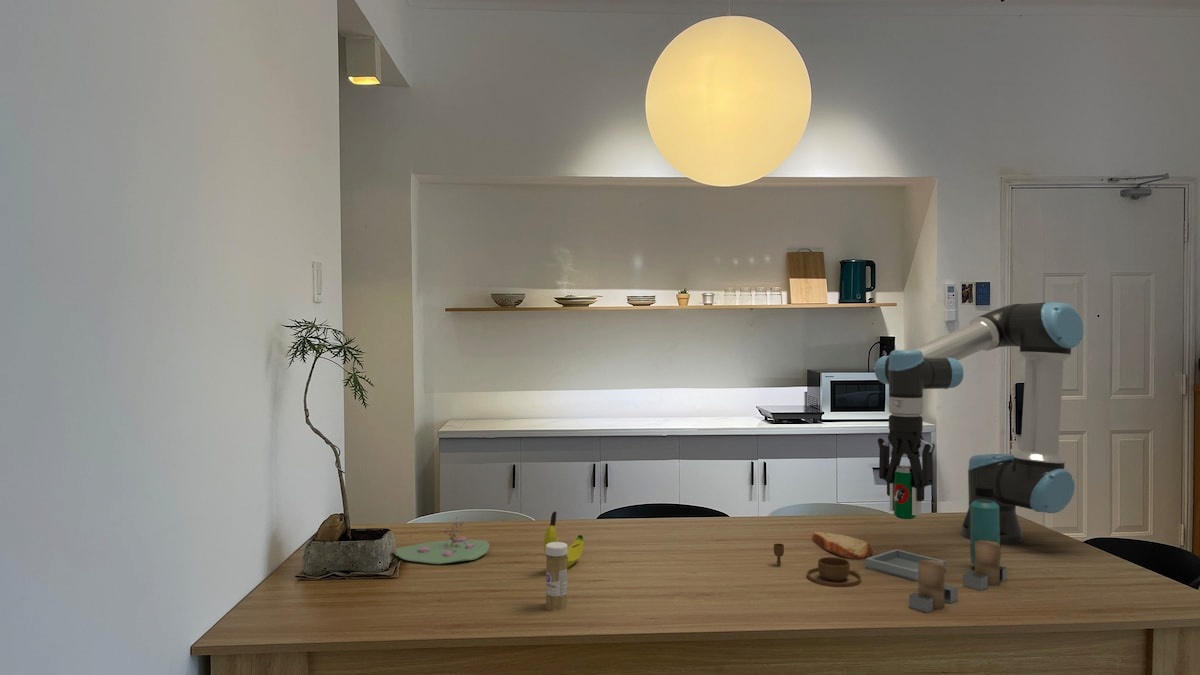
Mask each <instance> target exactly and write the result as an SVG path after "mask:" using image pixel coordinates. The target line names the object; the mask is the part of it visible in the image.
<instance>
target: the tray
mask: <svg viewBox="0 0 1200 675" xmlns="http://www.w3.org/2000/svg"><path fill="white" fill-rule="evenodd" d="M920 560H935V561H939V562H942V563H944V573H945V572H946V571H947V561H946V560H944V559H943V560H942V559H938V558H934V557H931V556H926V555H922V554H917V553H915V552H914V553H913V552H909V551H906V550H902V549H897V548H894V549H891V550H889V551H885V552H882V553H878V554H876V555H873V556H872V555H871V556H870V557H869V558H866V559H865V569H867V570H871V571H875V572H879V573H882V574H885V575H889V576H891V577H892V576H893V577H896V578H900V579H904V580H907V581H911V582H914V581H915V582H914V583H918V561H920Z"/></svg>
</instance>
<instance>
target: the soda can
mask: <svg viewBox="0 0 1200 675" xmlns="http://www.w3.org/2000/svg"><path fill="white" fill-rule="evenodd" d="M914 486H915V482H914V478H913V474H912V469H911V465H899V466H896V469H895V470H894V511H893V515H894V517H895V518H898V519H901V520H913V519H915V518H916V517H917V516H918V515H912V487H914Z"/></svg>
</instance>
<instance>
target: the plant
mask: <svg viewBox="0 0 1200 675" xmlns="http://www.w3.org/2000/svg"><path fill="white" fill-rule="evenodd" d="M457 519H458V517H457V516H456V517H455V523H452V525H453V526H451V528H450V527H447V528H446V529H447V530H446V531H444V533H445V534H446V535H447V536H448V537H449V539H448V540H437V541H431V542H430V541H429V542H423V543H417V544H412V545H407V546H402V547H396V552H397V556H399V557H398V558H400V559H402V560H405V561H409V562H416V563H422V564H423V563H424V564H433V565H442V564H450V563H457V562H467V561H474V560H477V559H479V558H481V557H482V556H484V555H485V554H486V553H487V552H488V550H490V544H489V542H488V541H487V540H483V539H467V537H465V536H461V537H458V535H459V534H460V532H461V530H463V527H461V526H463V524H462V523H464V521H461V522H460V523H458V522H456V521H457ZM458 526H460V528H458ZM456 528H458V529H456ZM449 531H450V533H449ZM447 533H448V534H447ZM456 533H457V534H456ZM397 556H396V557H397Z"/></svg>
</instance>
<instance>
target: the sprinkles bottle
mask: <svg viewBox="0 0 1200 675" xmlns="http://www.w3.org/2000/svg"><path fill="white" fill-rule="evenodd" d="M568 548H569V547H568V544H567V543H565V542H561V541H559V542H551V543H548V544H546V550H545V551H544V553H545V556H546V565H545V568H546V573H545V574H546V575H545V577H546V578H545V594H546V596H545V597H546V598H545V599H546V600H545V601H546V602H545V609H547V610H548V611H552V612H554V611H557V612H559V611H563V610H566V609H567V608H568V604H567V602H568V601H567V600H568V597H567V596H568V595H567V594H568V568H567V553H568Z"/></svg>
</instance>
